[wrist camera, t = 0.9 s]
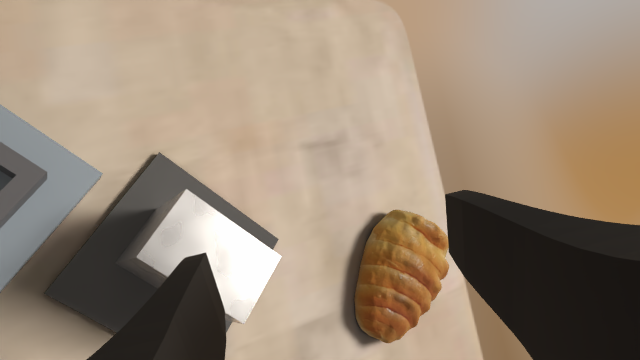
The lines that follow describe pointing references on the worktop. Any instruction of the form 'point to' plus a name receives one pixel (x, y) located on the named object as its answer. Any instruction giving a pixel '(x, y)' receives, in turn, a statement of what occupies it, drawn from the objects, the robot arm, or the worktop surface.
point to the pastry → (399, 274)
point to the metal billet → (202, 237)
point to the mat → (115, 236)
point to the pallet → (34, 190)
